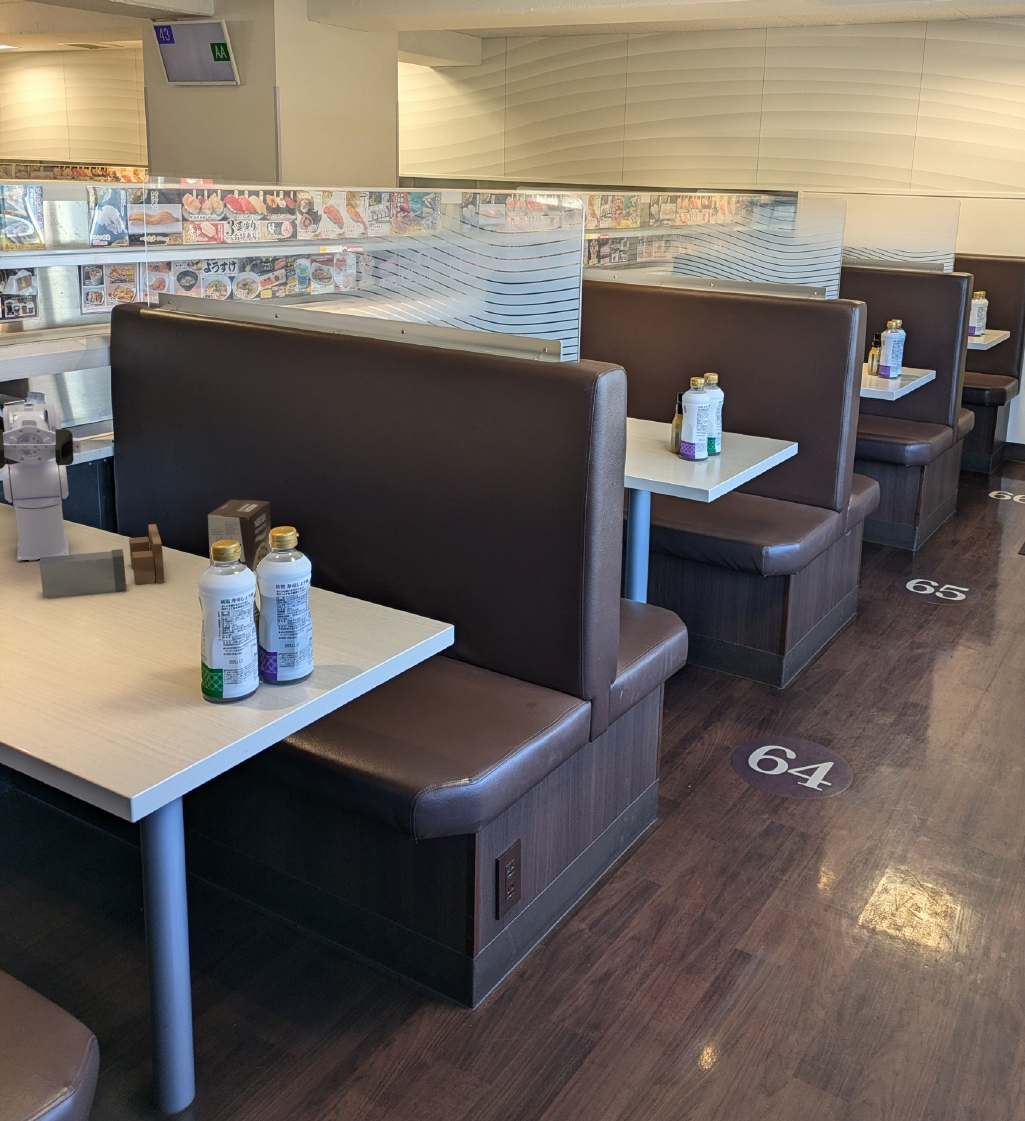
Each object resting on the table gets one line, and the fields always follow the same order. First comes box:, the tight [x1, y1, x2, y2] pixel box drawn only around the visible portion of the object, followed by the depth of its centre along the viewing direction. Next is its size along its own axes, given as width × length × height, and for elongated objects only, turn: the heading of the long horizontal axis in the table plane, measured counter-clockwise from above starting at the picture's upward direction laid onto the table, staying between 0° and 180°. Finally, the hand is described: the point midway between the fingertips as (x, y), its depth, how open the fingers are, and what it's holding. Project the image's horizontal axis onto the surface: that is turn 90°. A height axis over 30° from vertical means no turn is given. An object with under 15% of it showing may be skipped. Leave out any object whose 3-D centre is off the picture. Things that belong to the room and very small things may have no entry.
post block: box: [128, 523, 166, 585], centre depth 182 cm, size 11×4×6 cm, turn 22°
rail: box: [39, 548, 127, 599], centre depth 173 cm, size 4×12×6 cm, turn 112°
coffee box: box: [207, 499, 272, 571], centre depth 166 cm, size 9×6×16 cm
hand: (30, 456), depth 166 cm, fingers open, 7 cm apart
